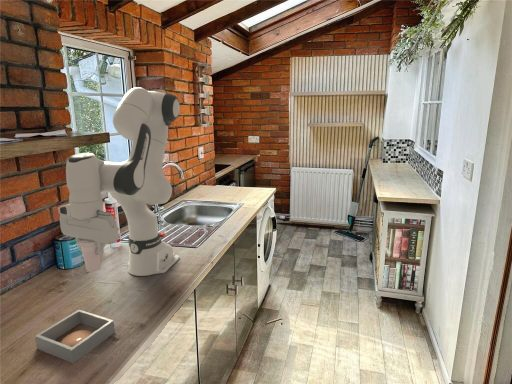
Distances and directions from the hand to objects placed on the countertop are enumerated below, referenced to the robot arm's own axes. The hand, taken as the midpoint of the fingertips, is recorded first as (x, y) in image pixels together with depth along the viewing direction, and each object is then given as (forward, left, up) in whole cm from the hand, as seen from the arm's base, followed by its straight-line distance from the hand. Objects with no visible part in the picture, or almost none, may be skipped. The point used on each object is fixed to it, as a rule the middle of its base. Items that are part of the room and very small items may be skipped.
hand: (91, 252), depth 106 cm
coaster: (+12, +4, -21) cm, 25 cm away
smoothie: (0, 0, -6) cm, 6 cm away
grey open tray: (+12, +4, -21) cm, 25 cm away
